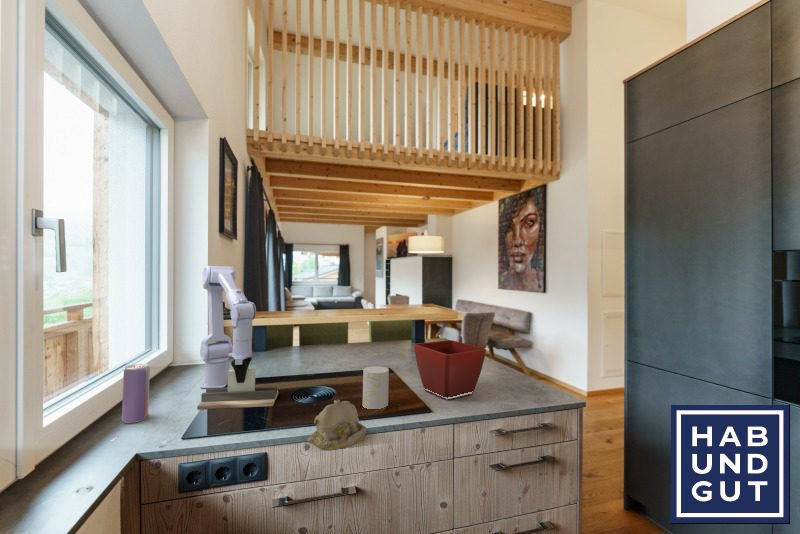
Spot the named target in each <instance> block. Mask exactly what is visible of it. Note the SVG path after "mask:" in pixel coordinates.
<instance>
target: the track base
mask: <svg viewBox="0 0 800 534" xmlns="http://www.w3.org/2000/svg"><path fill="white" fill-rule="evenodd" d="M200 395H201V396H200V397H201V399H200V403H199V404H197V406H196V408H197V410H208V409H209V410H211V409H212V410H213V409H214V410H215V409H232V408H233V409H235V408H237V409H238V408H254V407H255V408H258V407H273V406H274V404H275V402H276V400H277V397H278V396H279V390H278V386H255V391H241V392H228V387H223V388H205V392H202V393H201V394H200Z"/></svg>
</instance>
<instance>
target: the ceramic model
mask: <svg viewBox="0 0 800 534" xmlns="http://www.w3.org/2000/svg"><path fill="white" fill-rule="evenodd" d="M359 421H360V419H359V414H358V411H357V408H356V406H355V405H354V404H352V403H351V401H348V400H344V401H343V400H342V401H341V400H340V399H334V400H333V403H331V404H328V405H325V407H323V410H322V411H320V412H319V414H318V415H316V416H315V418H314V420H313V423H314V425H316V428H315V431H314V432H313V433H311V434H310V436H308V437H307V442H308V443H310V444H312V445H313V446H315V447H317V448H318V449H320V450H325V451H334V450H335V451H336V450H337V451H338V450H340V449H341V450H342V449H343V448H346V447H349V446H352V445H354V444H356V443H359V442H361V441H362V440H363V439H364V438H365V436H366V434H367V427H366V426H365V425H363V424H361V423H360V422H359Z"/></svg>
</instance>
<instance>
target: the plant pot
mask: <svg viewBox="0 0 800 534" xmlns="http://www.w3.org/2000/svg"><path fill="white" fill-rule="evenodd" d="M413 346H414V354H415V360H416V366H417V369H418V374H419V378H420V381H421V383H422V386H423V387H422V388H423V389H424V388H425V389H428V390H430V391H432V392H434V393H437V394H439V395H441V396H443V397H447V398H448V397H453V396H457V395H460V394H464V393H468V392H472V391H473V392H474V391H475V388H476V386H477V383H478V381H479V378H480V375H481V372H482V369H483V365H484V361H485V357H486V351H487V350H486V348H484V347H479V346H476V345H472V344H468V343H464V342H460V341H458V340H457V341H456V340H453V339H451V340H450V339H449V340H448V339H447V340H440V341H429V342H428V341H427V342H419V343H414V345H413ZM425 389H424V390H425Z"/></svg>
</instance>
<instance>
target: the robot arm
mask: <svg viewBox="0 0 800 534" xmlns="http://www.w3.org/2000/svg"><path fill="white" fill-rule="evenodd" d="M235 278H236V270H235V268H234V266H232V265H229V266H223V265H220V266H219V265H205V266H204V267H203V270H202V287H203V289H205V290H207V298H208V299H207V301H208V304H207V305H208V329H209V330H208V332H209V334H208V335H206V337H205V338H203V339H202V340H201V342H200V351H199V356H200V359H201V361H203V363H205V364H204V383H203V384H202V385H200V388H199V389H211V388H226V386H228V371H229V370H230V364H231V367H232V370H234V371H235V375H236V381H237V383H244V381H245V377H246V372H247V369H249V366H250V363H251V361H252V359H253V357H252V356H253V351H252V348H253V346H252V345H253V340H252V339H253V320H255V319H256V316H257V315H256V314H257V307H256V305H255V303H254V302H251V301H248V298H247V296H245V293H244V291H243V290H242V289H241V288H238V286H237V284H236V282H235ZM224 291H225V300H226V302H227V304H228V306H229V308H230V318H231V326H232V327H233V328H232V338H231V337H230V336H228V335H227V334H225V327H224V326H225V325H224V324H225V323H224V301H223V300H224V299H223V297H224V296H223V293H224ZM230 358H233V360H231V361H230V364H229V360H230Z"/></svg>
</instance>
